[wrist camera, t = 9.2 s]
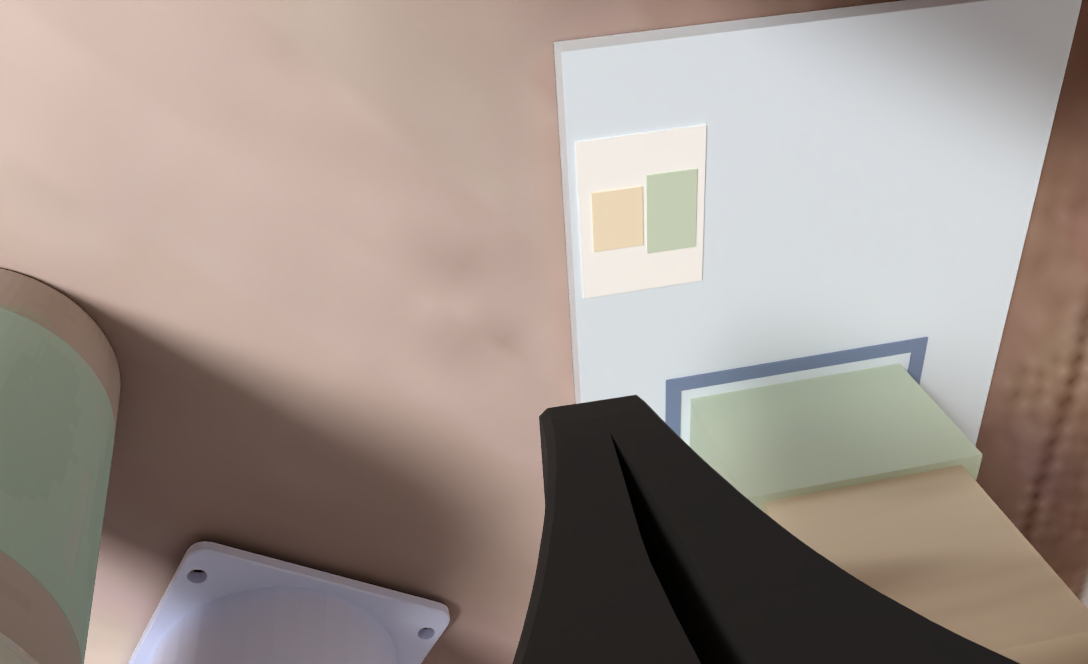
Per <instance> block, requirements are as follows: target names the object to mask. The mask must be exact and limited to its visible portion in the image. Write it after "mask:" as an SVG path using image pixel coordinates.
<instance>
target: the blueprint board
mask: <svg viewBox="0 0 1088 664" xmlns="http://www.w3.org/2000/svg"><path fill="white" fill-rule="evenodd" d="M1081 3H1082V0H902V1H893V2H885V3H877V4H868V5H860V6H852V7H843V8H835V9H827V10H818V11H810V12H801V13H793V14H785V15H776V16H768V17H760V18H751V19H743V20H735V21H726V22H718V23H709V24H701V25H693V26H684V27H676V28H668V29H659V30H651V31H643V32H634V33H626V34H617V35H609V36H601V37H592V38H584V39H576V40H567V41H559V42H554V53H555V70H556V86H557V103H558V119H559V136H560V152H561V169H562V185H563V202H564V218H565V234H566V251H567V267H568V284H569V300H570V317H571V333H572V350H573V366H574V383H575V399H576V404H579V403H585V402H592V401H598V400H605V399H611V398H618V397H624V396H631V395H637V396H639V397H640V398H641V399H642V400H644V401H645V402H646V403H647V404H648V405H649V406H650V407H651V408H652V409H653V411H654V412H655V413H656V414H657V415H658V416H659V417H660V418H661V419H662V420H663V421H664V422H665V423H666V424H667V425H668V426H669V427H670V428H671V429H672V430H673V431H674V432H675V433H676V434H677V435H678V436H679V437H680V438H681V439H682V440H683V441H684V442H685V443H686V444H687V445H689V446H690V405H691V398H697V397H703V396H709V395H715V394H721V393H726V392H732V391H738V390H744V389H750V388H756V387H762V386H768V385H774V384H780V383H786V382H792V381H797V380H803V379H809V378H815V377H821V376H827V375H833V374H839V373H845V372H851V371H857V370H863V369H869V368H874V367H880V366H886V365H892V364H898V363H899V364H900V365H901V366H902V367H903V368H904V369H905V370H906V371H907V372H908V373H909V375H910V376H911V377H912V378H913V379H914V380H915V381H916V382H917V383H918V384H919V385H920V387H921V388H922V389H923V390H924V391H925V392H926V393H927V394H928V395H929V396H930V397H931V399H932V400H933V401H934V402H935V403H936V404H937V405H938V406H939V407H940V408H941V410H942V411H943V412H944V413H945V414H946V415H947V416H948V417H949V418H950V419H951V420H952V422H953V423H954V424H955V425H956V426H957V427H958V428H959V429H960V430H961V431H962V433H963V434H964V435H965V436H966V437H967V438H968V439H969V440H970V441H971V442H972V443H973V445H974V446H976V442H977V437H978V433H979V429H980V425H981V421H982V417H983V412H984V408H985V404H986V400H987V396H988V392H989V387H990V383H991V379H992V375H993V371H994V367H995V362H996V358H997V354H998V350H999V346H1000V341H1001V337H1002V333H1003V329H1004V325H1005V321H1006V316H1007V312H1008V308H1009V304H1010V300H1011V296H1012V291H1013V287H1014V283H1015V279H1016V275H1017V270H1018V266H1019V262H1020V258H1021V254H1022V250H1023V245H1024V241H1025V237H1026V233H1027V229H1028V225H1029V220H1030V216H1031V212H1032V208H1033V204H1034V200H1035V195H1036V191H1037V187H1038V183H1039V179H1040V174H1041V170H1042V166H1043V162H1044V158H1045V154H1046V149H1047V145H1048V141H1049V137H1050V133H1051V129H1052V124H1053V120H1054V116H1055V112H1056V108H1057V103H1058V99H1059V95H1060V91H1061V87H1062V83H1063V78H1064V74H1065V70H1066V66H1067V62H1068V58H1069V53H1070V49H1071V45H1072V41H1073V37H1074V33H1075V28H1076V24H1077V20H1078V16H1079V12H1080V7H1081Z"/></svg>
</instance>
